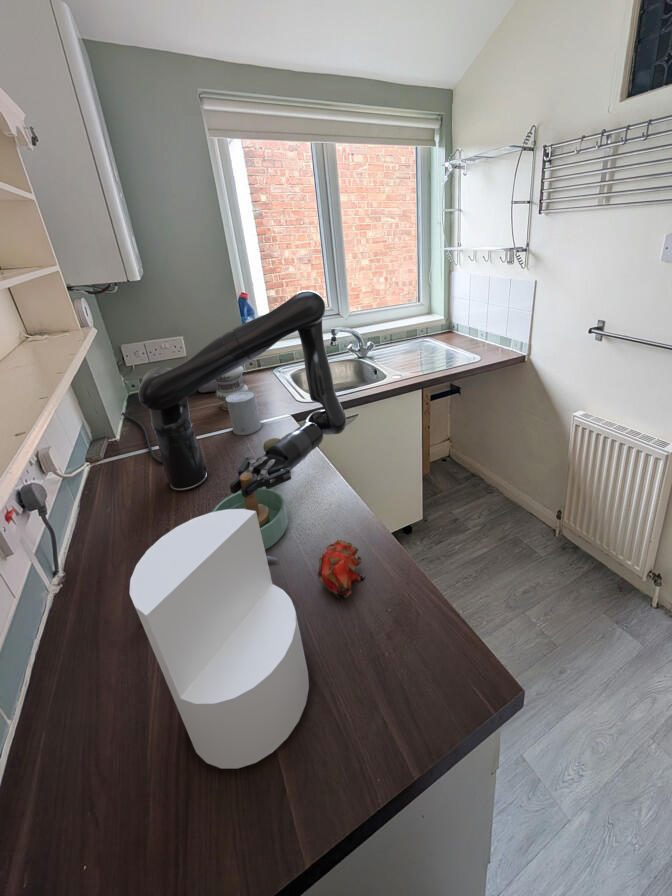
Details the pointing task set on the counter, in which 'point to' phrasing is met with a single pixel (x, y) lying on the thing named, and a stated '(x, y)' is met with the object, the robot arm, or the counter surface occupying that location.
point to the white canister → (243, 412)
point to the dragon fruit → (339, 568)
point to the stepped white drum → (223, 636)
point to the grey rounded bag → (209, 387)
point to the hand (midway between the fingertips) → (237, 491)
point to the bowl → (275, 508)
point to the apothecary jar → (230, 385)
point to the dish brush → (254, 502)
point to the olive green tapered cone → (270, 443)
